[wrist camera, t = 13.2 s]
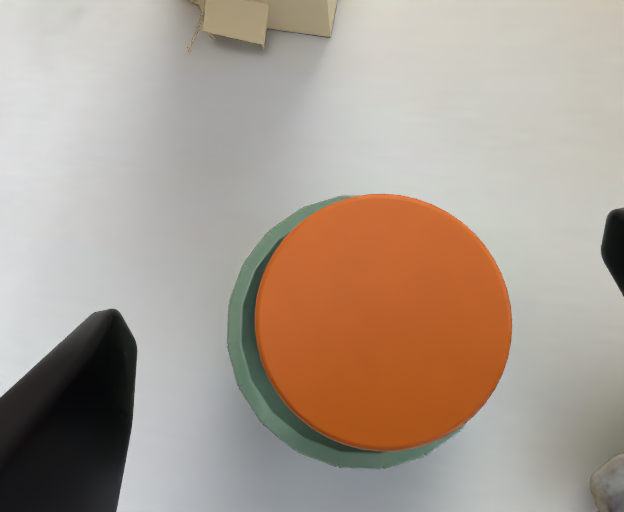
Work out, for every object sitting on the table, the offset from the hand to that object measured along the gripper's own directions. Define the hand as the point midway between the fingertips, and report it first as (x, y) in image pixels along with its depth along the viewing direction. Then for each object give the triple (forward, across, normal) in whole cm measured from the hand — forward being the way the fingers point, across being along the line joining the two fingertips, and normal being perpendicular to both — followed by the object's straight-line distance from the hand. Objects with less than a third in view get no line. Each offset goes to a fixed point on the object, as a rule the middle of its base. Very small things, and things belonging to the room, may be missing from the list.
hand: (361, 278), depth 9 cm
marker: (+7, 0, +8) cm, 10 cm away
